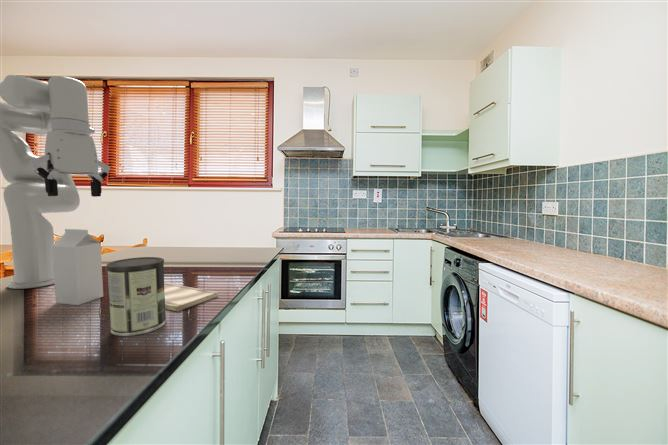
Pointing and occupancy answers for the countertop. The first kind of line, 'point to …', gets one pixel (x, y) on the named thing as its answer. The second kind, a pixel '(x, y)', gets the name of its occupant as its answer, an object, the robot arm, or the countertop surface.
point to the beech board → (185, 296)
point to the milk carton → (77, 268)
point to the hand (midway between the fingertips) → (75, 196)
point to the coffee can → (136, 295)
